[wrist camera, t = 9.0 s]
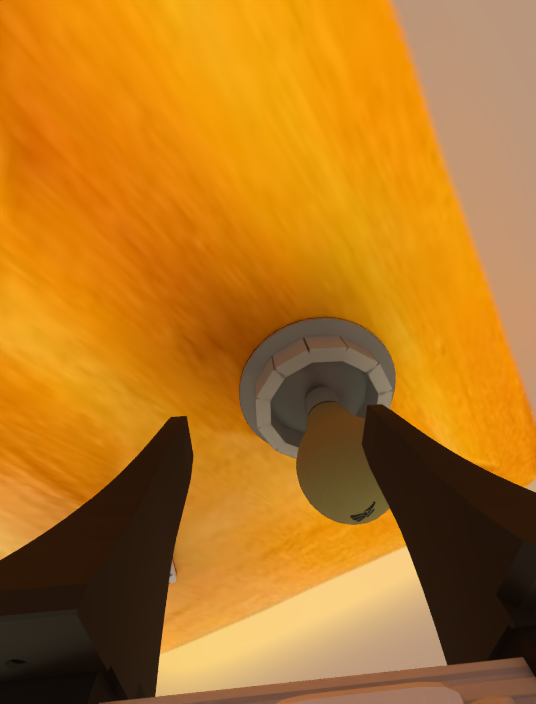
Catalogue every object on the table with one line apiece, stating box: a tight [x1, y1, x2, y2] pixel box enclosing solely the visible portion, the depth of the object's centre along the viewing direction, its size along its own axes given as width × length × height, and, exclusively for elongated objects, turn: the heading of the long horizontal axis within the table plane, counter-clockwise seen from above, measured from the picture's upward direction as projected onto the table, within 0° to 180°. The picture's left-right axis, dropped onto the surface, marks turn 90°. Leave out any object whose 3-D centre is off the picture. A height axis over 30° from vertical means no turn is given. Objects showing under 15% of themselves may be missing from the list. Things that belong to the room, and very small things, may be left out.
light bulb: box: [296, 387, 390, 525], centre depth 19 cm, size 6×6×10 cm
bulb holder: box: [240, 317, 396, 459], centre depth 23 cm, size 12×12×2 cm
